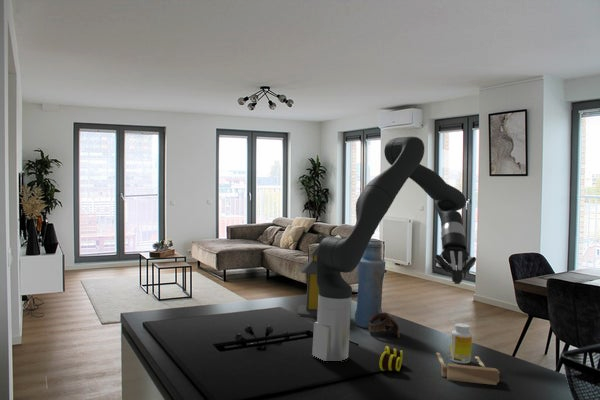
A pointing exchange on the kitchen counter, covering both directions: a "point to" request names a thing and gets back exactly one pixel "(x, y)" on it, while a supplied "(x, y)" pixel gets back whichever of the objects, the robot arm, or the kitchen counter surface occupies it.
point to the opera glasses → (391, 359)
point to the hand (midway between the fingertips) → (457, 282)
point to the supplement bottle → (461, 344)
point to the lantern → (311, 285)
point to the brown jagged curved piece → (383, 324)
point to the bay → (469, 372)
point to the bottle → (370, 285)
